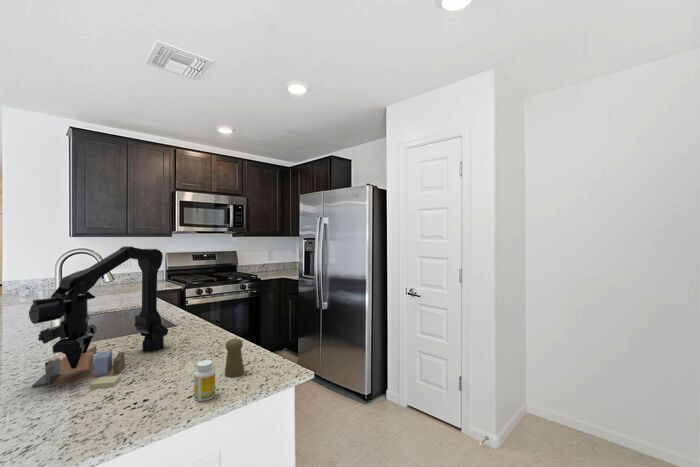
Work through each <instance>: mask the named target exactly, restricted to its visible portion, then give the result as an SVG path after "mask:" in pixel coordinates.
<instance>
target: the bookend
mask: <svg viewBox="0 0 700 467" xmlns="http://www.w3.org/2000/svg"><path fill="white" fill-rule="evenodd" d="M59 375H60V358H57V359H55V360H54V361H53V362H52V363H51V364H50V365H49V366H48V367H46V370H45V373H44V374H43V375H42V376H41V377H39V378H38V380H37V381H36V382H34V383H33V384H32V386H31V387H36V388H39V387H38V386H43V387H45V386H44V385H49V386H51V385H50V384H51V383H52V382H53V381H54V380H55V379H56V378H57V377H58V376H59Z"/></svg>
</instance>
